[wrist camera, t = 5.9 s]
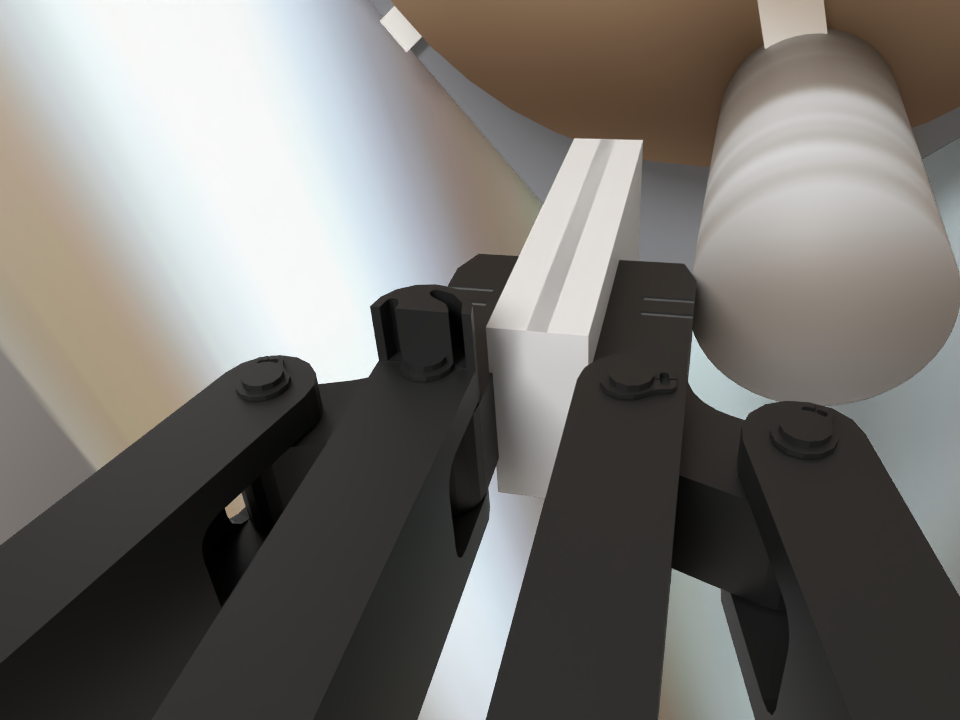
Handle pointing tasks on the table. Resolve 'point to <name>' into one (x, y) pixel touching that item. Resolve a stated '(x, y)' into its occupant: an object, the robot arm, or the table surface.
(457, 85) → the dial base
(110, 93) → the table surface
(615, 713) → the robot arm
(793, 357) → the dial
